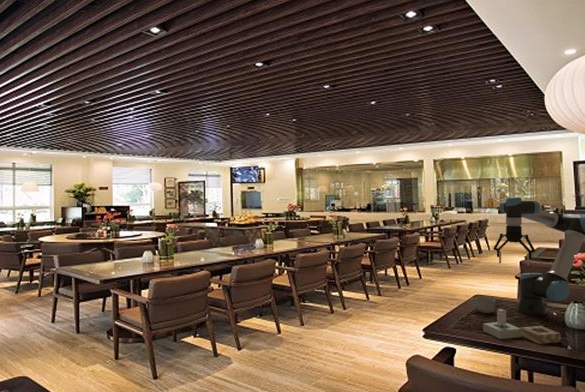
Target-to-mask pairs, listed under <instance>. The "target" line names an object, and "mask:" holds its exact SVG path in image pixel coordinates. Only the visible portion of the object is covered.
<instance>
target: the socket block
mask: <svg viewBox="0 0 585 392" xmlns="http://www.w3.org/2000/svg"><path fill="white" fill-rule="evenodd" d="M482 324H483V328H482V330H483V332H484V333H485V334H489V335H491V336H493V337H495V338H497V339H499V340H505V339H513V338H522V336H521V329H520V327H518V326H515V325H513V324H511V323H508V322H506V328H499V327H497V321H495V322H487V323H486V322H485V323H484V322H483V323H482Z"/></svg>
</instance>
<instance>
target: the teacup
mask: <svg viewBox="0 0 585 392" xmlns="http://www.w3.org/2000/svg"><path fill="white" fill-rule="evenodd" d="M472 301H474V302H475V304H474V303H473V302H472ZM469 303H470V305H471V306H473V307H474V308H475V309H477V310H478V311H479V312H480V313H482V314H492V313H493V312H495V310H496V299H494V297H493V298H492V297H489V296H476V297H475V298H474V297H471V298H470V300H469Z"/></svg>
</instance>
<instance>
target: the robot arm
mask: <svg viewBox="0 0 585 392" xmlns="http://www.w3.org/2000/svg"><path fill="white" fill-rule="evenodd" d="M498 208H499V211H500V212H501V213H503V214H505V223H506V224H505V225H506V226H505V233H502V232H501V233H500V234H499V238H498V239H497V241H496V244H494V246H493V248H492V249H493V250H494V251H496V257H497V258H498V263H499V264H502V250H501V249H502V248H504V247H505V246H506V244H507V243H508V242H509V243H515V244H516V243H519V244H520V245H521V246H522V247H523V248H524V249H525V250H526V252H527V253H526V258H527V259H526V262H527V263H526V266H530V260H531V259H532V253H535V252H536V249H535V247H534V246H533V244H532V242H531V241H530V239H529V234H522V233H523V232H522V230H523V229H522V225H523V224H522V222H523V220H522V219H523V218H524V219H527V220H529V221H533V222H537V223H539V224H543V225H544V226H545V227H547V228H550V229H552V230H556V231H558V232H562V233H565V234H564V235H565V238H564V240H563V241H562V244H561V247H560V248H559V251H558V253H557V255H556V257H555V259H554V262H553V263H552V265H551V268H550V270H549V271H546V272H545V274H544V275H543V273H540V272H524V273H521V274H520V276H519V277H520V278H519V288H520V289H519V290H520V291H519V293H520V295H519V296H520V298H519V301H518V304H517V306H516V309H517V312H519V313H522V314H525V315H532V316H533V315H534V316H543V315H546V314H547V309H546V305H545V304H544V303H545V301H544V302H543V298H545V299H547V300H550V301H554V302H555V301H556V302H562V301H564V300H566V299H567V298H568V296H569V295H570V293H571V289H570V288H571V286H570V285H569V279H568V276H569V273H570V272H571V269H572V267H573V265H574V263H573V261H574V262H575V260H574V255H577V256H578V253H579V252H580V249H581V247H582V244H583V242H585V213H568V212H567V213H562V212H561V213H559V212H554V211H549V212H548V211H546V210H542V209H541V204H540V203H539V202H538V201H536V200H522V197H519V196H518V197H517V196H516V197H506V198H505V200H502V201H501V202H500V203H499V205H498ZM503 238H506V240H505V241H504V242H503V243H502V244H501V245H500V246H499V244H500V242H501V241H502V239H503ZM522 239H524V240H526V242H527V244H528V245H526V244H525V243H524V242H523V241H522ZM498 246H499V247H498ZM528 246H529V247H528Z"/></svg>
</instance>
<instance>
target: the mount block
mask: <svg viewBox="0 0 585 392" xmlns="http://www.w3.org/2000/svg"><path fill="white" fill-rule="evenodd" d="M519 328H520V329H521V338H525V339H527V340H530V341H532V342H534V343H536V344H538V345H542V344H551V343H561V338H562V337H561V333H560V332H559V331H558V332H557V331H556V330H552V329H550V328H548V327H544V326H541V325H534V326H523V327H521V326H520V327H519Z"/></svg>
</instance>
